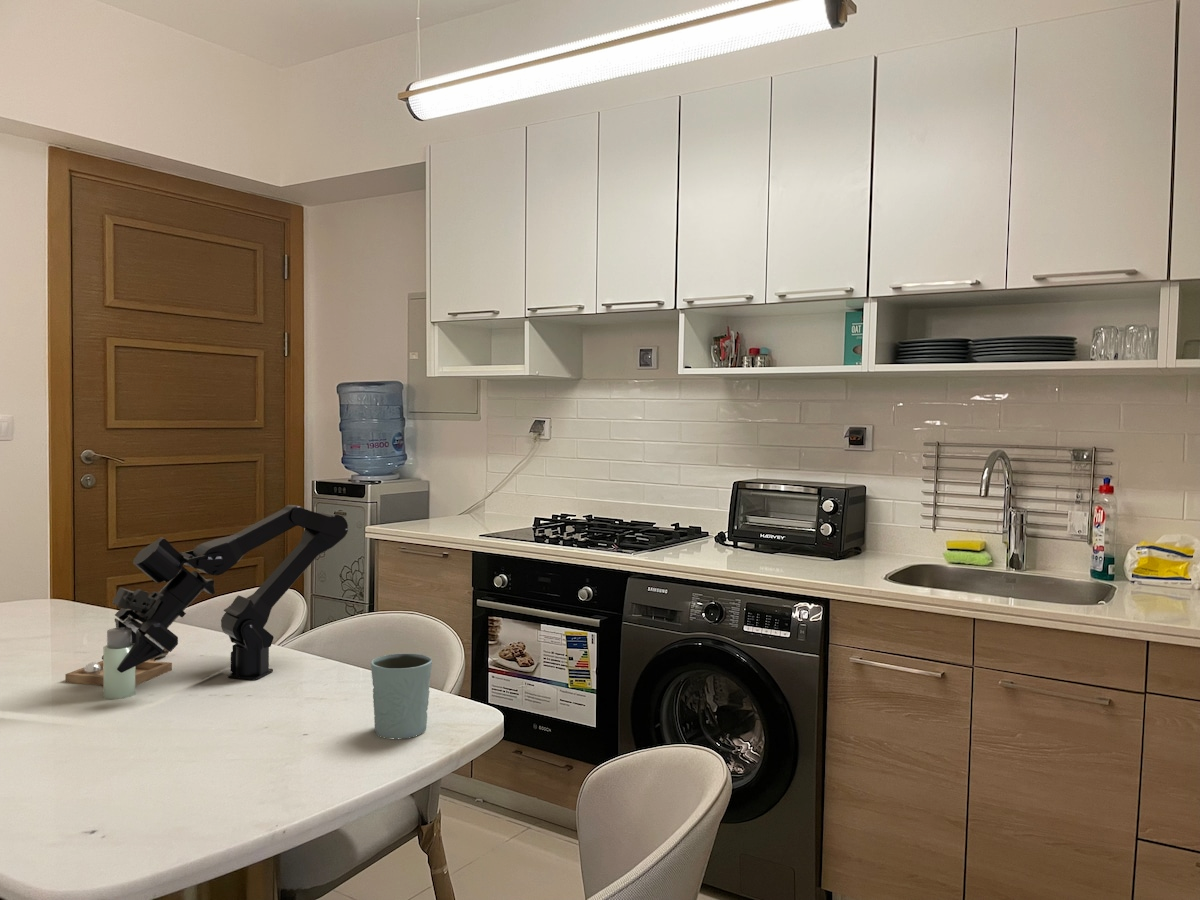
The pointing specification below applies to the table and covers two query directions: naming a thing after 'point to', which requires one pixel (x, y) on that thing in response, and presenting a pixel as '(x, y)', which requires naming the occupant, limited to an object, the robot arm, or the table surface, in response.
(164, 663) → the tray
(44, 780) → the table surface
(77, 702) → the table surface
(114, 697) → the disc
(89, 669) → the ball
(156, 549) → the robot arm
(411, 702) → the grey-green cup
